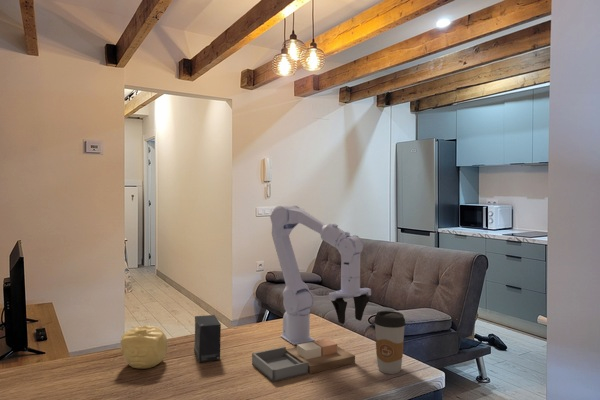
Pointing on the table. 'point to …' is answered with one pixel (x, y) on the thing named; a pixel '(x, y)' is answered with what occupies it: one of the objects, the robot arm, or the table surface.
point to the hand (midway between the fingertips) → (350, 321)
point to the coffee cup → (389, 340)
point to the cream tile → (309, 350)
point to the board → (324, 360)
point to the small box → (207, 338)
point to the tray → (278, 364)
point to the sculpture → (144, 346)
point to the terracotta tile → (326, 346)
